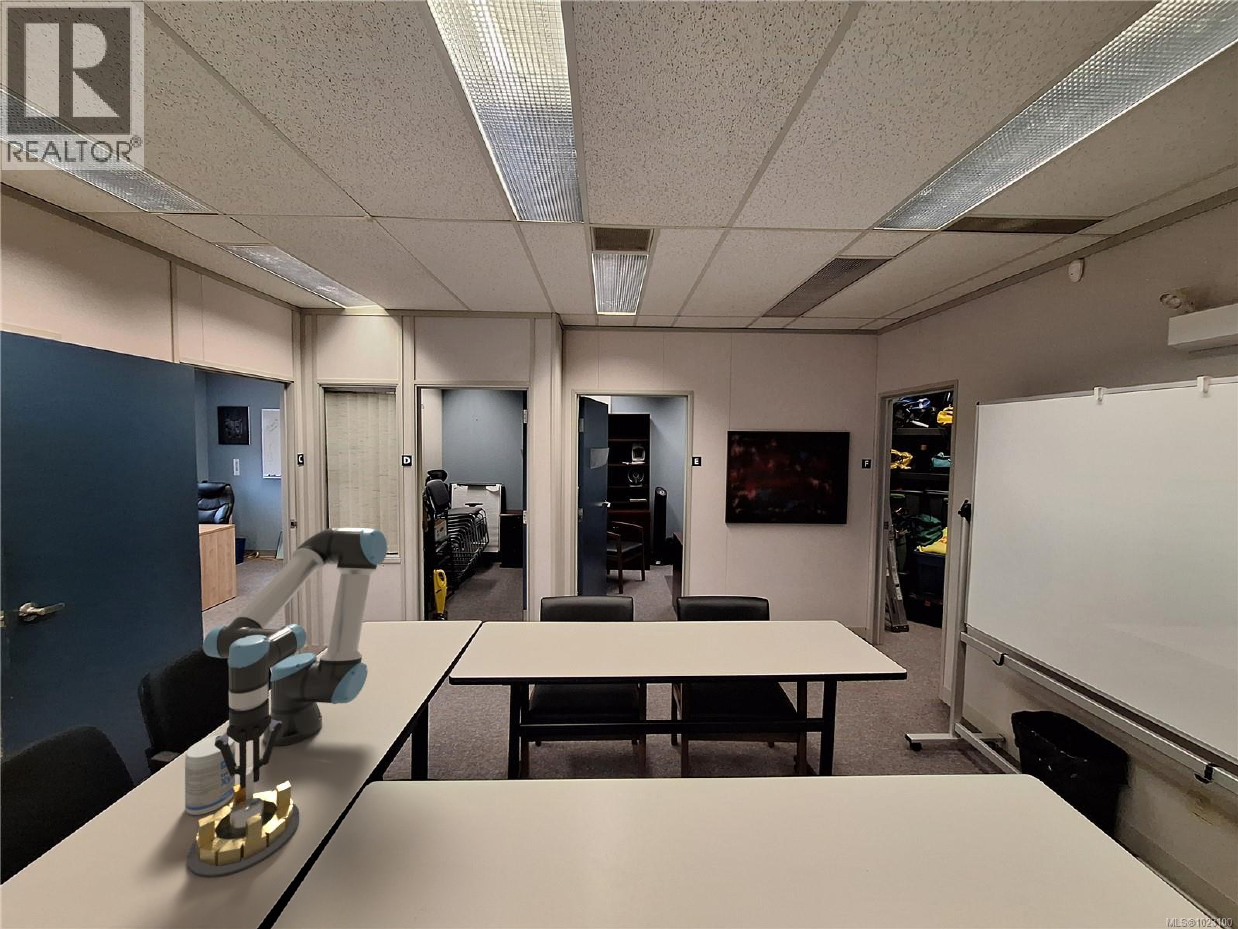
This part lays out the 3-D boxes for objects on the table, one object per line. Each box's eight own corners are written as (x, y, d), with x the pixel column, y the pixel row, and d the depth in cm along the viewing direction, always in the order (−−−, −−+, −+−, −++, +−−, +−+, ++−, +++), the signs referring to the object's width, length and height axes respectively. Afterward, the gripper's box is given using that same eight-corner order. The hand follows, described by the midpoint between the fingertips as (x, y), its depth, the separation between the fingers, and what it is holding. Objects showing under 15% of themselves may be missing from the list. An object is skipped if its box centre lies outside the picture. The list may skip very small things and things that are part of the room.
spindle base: (257, 795, 118) (258, 769, 118) (319, 814, 113) (319, 787, 113) (163, 862, 99) (163, 831, 99) (232, 889, 94) (232, 856, 93)
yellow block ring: (191, 832, 105) (192, 803, 105) (281, 792, 118) (281, 766, 118) (203, 880, 94) (203, 848, 94) (300, 830, 107) (301, 801, 106)
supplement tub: (232, 807, 114) (232, 750, 114) (180, 823, 109) (180, 763, 108) (237, 782, 122) (238, 729, 122) (189, 796, 117) (190, 740, 116)
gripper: (282, 687, 117) (282, 775, 118) (215, 703, 109) (216, 797, 111) (282, 701, 111) (283, 793, 112) (212, 719, 103) (213, 818, 105)
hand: (249, 795), depth 112 cm, fingers closed
